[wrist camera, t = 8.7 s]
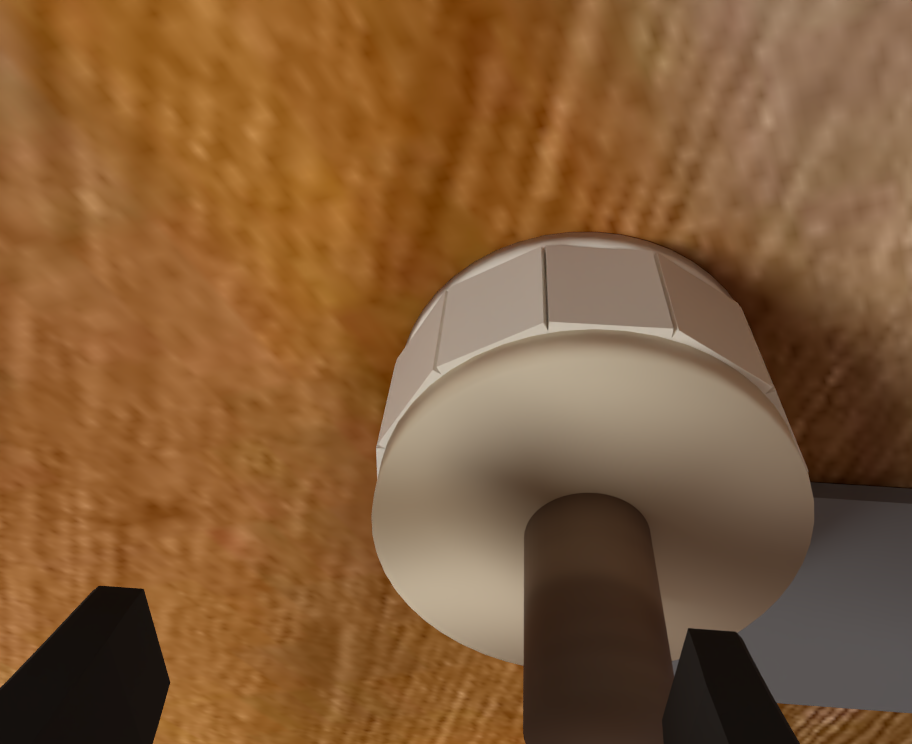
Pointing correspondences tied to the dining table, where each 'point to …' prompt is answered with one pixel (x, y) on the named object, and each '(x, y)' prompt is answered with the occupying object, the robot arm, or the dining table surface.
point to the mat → (844, 607)
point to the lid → (591, 518)
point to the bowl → (572, 309)
